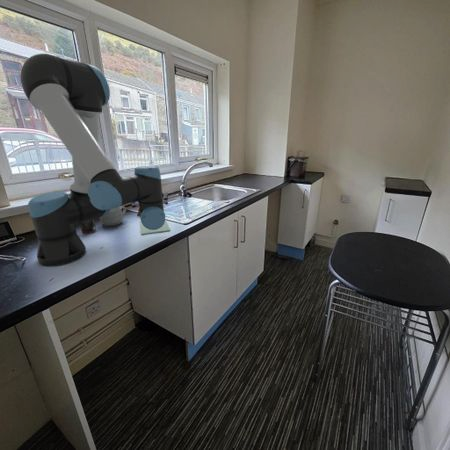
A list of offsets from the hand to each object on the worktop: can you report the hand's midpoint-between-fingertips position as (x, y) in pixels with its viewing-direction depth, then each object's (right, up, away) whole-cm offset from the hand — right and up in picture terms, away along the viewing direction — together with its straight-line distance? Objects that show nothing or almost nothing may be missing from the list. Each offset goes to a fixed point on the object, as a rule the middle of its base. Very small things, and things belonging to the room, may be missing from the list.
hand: (148, 192), depth 108 cm
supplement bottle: (-29, -18, +4) cm, 34 cm away
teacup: (-22, -14, +15) cm, 30 cm away
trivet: (0, -15, +11) cm, 19 cm away
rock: (-12, -8, +30) cm, 33 cm away
